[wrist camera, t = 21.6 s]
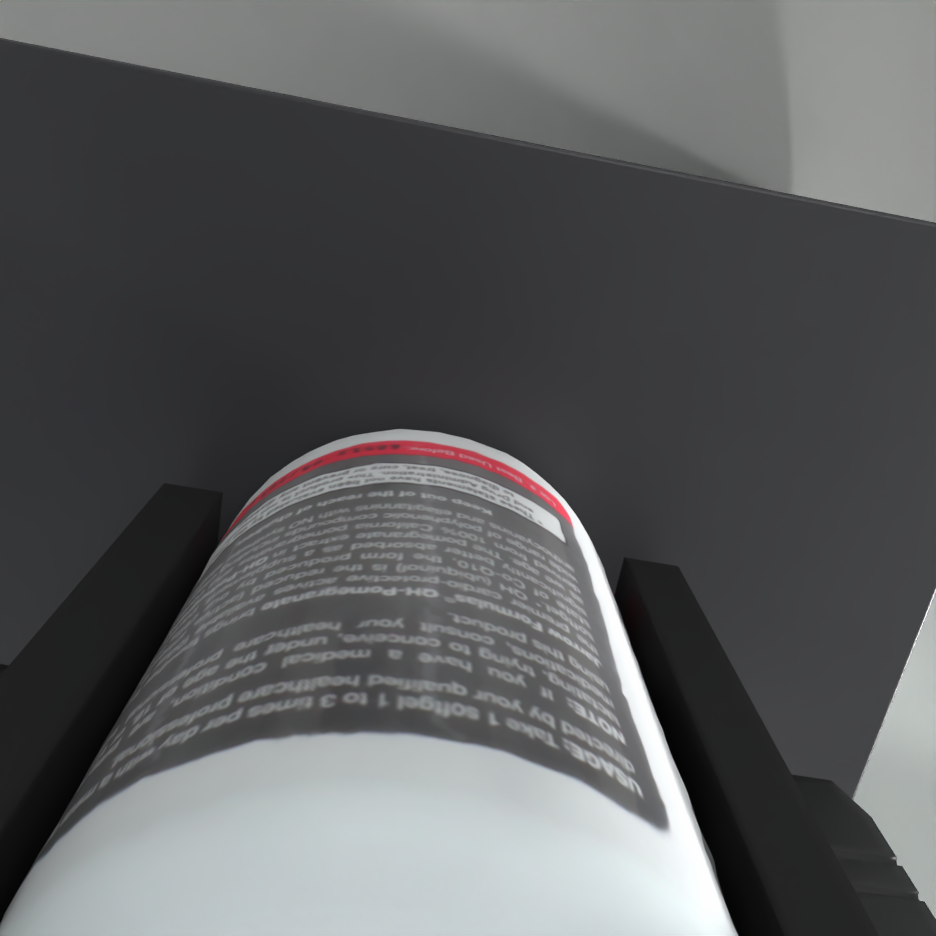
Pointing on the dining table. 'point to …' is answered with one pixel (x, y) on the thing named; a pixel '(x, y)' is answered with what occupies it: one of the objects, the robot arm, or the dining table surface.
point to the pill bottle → (386, 729)
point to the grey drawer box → (471, 356)
